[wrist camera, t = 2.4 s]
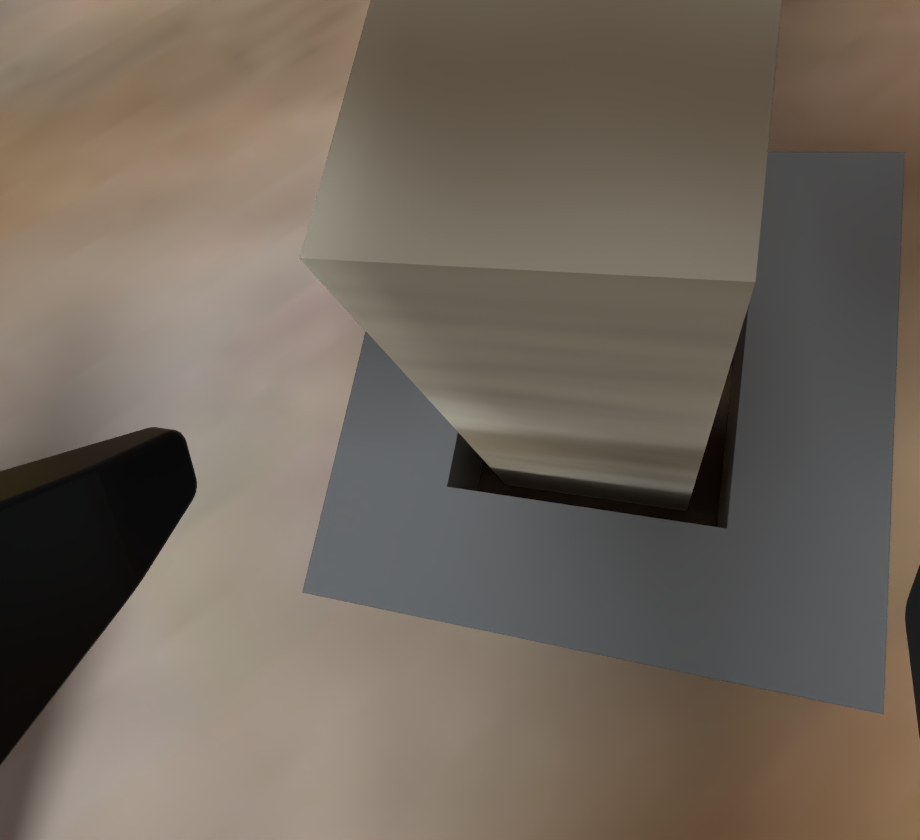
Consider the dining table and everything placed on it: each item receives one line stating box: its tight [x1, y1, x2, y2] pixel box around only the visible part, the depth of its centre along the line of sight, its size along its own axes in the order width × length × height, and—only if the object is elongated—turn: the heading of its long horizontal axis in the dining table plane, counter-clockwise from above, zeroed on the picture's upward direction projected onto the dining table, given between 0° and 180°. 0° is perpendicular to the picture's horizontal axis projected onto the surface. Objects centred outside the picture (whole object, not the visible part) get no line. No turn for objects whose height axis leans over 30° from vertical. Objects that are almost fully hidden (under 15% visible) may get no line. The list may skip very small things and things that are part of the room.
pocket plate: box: [303, 152, 904, 714], centre depth 19 cm, size 13×13×3 cm
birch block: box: [300, 0, 782, 511], centre depth 14 cm, size 5×5×13 cm
